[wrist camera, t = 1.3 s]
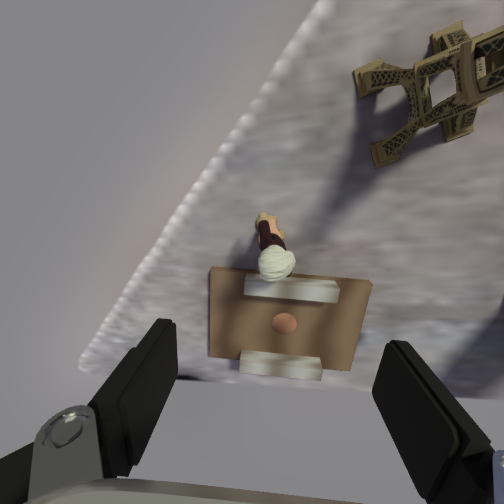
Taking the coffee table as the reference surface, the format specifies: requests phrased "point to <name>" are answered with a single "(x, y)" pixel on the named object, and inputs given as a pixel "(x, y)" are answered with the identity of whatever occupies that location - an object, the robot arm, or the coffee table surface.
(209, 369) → the coffee table surface
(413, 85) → the eiffel tower
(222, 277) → the board
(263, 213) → the grandmother figurine
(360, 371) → the coffee table surface
